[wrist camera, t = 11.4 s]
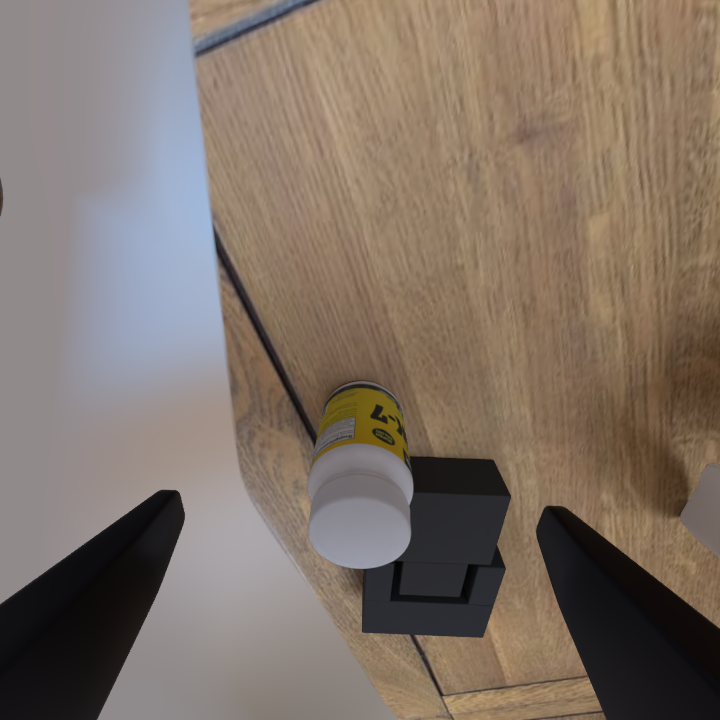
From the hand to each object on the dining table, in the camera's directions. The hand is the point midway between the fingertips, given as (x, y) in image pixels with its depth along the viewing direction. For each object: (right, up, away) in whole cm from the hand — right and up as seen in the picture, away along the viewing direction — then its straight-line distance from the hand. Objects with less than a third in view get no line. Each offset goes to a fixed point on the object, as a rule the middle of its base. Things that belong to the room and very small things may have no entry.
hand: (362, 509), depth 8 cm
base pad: (+5, -13, +18) cm, 23 cm away
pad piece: (+5, -7, +16) cm, 18 cm away
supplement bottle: (0, +1, +12) cm, 12 cm away
